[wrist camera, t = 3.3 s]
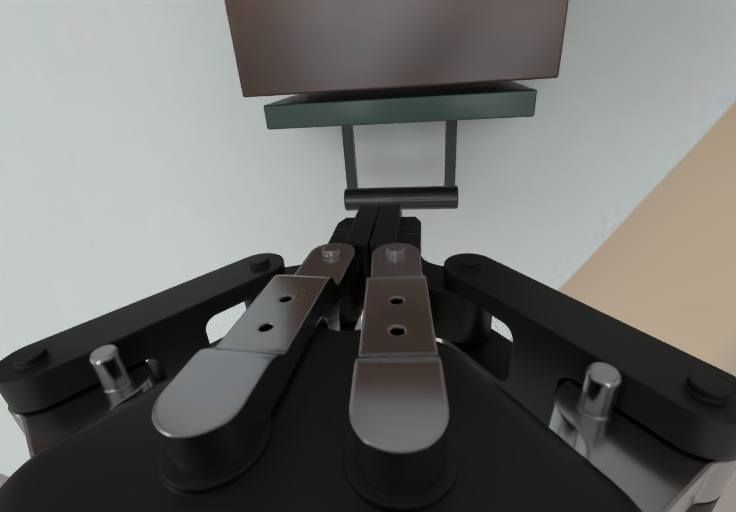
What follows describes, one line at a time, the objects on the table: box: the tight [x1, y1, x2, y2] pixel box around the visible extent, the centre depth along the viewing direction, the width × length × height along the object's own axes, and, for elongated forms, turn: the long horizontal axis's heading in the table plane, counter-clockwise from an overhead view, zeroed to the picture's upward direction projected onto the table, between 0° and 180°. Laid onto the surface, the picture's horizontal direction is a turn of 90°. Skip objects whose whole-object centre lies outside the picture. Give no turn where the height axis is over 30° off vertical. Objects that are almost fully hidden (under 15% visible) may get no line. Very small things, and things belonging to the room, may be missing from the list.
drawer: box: [264, 81, 537, 211], centre depth 22 cm, size 19×13×8 cm
